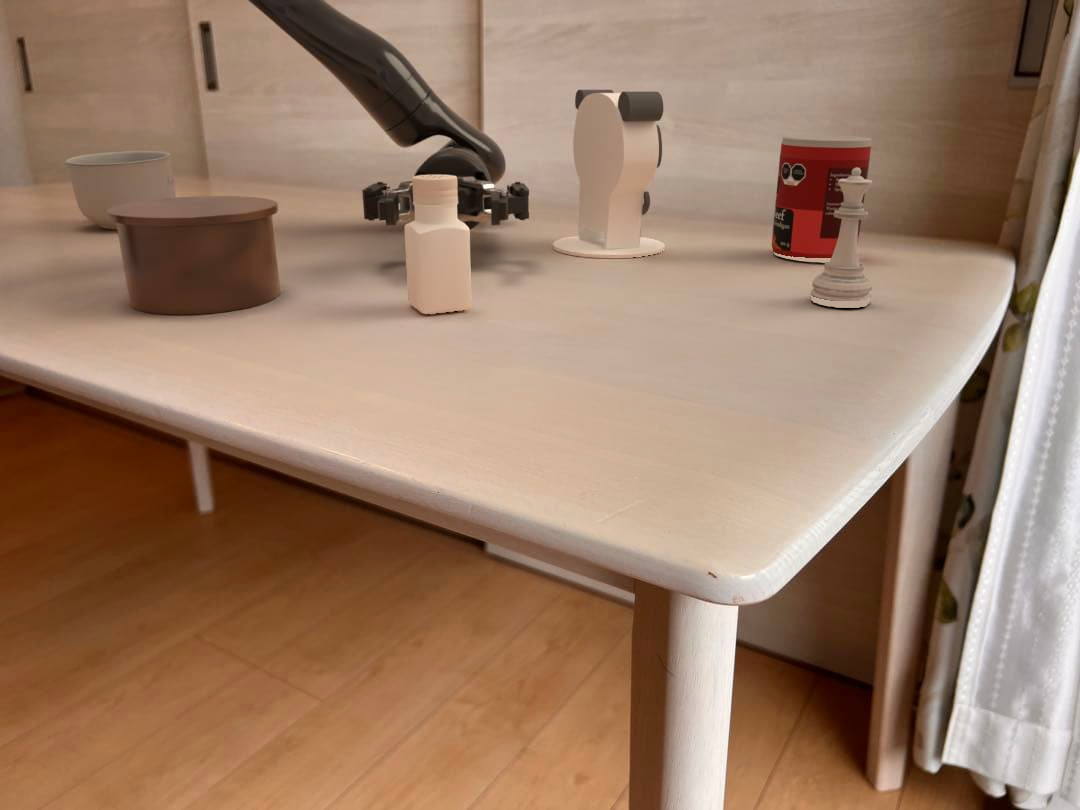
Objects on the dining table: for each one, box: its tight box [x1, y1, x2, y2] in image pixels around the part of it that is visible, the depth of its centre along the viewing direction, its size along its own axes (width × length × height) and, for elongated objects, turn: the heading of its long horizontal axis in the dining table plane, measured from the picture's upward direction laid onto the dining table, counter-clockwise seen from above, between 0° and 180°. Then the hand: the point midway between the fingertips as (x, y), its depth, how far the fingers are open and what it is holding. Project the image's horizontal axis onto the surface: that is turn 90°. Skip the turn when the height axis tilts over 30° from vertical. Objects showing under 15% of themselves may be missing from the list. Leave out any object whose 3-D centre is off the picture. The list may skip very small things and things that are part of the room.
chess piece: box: [810, 168, 873, 301], centre depth 64 cm, size 4×4×10 cm
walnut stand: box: [107, 195, 281, 316], centre depth 66 cm, size 12×12×7 cm
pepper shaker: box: [403, 175, 472, 315], centre depth 62 cm, size 4×4×10 cm
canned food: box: [771, 134, 872, 258], centre depth 81 cm, size 8×8×11 cm
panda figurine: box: [552, 89, 666, 259], centre depth 84 cm, size 12×11×15 cm
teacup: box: [64, 150, 176, 231], centre depth 99 cm, size 14×11×8 cm
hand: (442, 212), depth 69 cm, fingers open, 8 cm apart
